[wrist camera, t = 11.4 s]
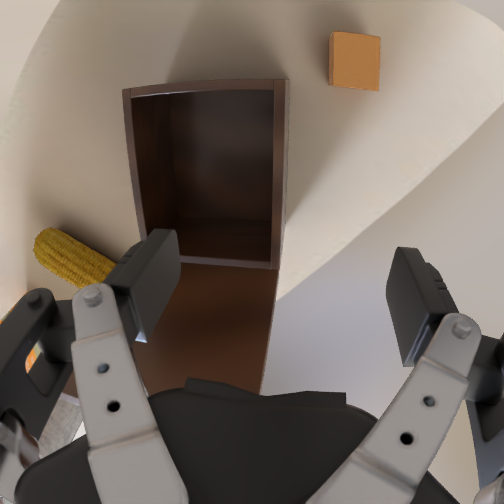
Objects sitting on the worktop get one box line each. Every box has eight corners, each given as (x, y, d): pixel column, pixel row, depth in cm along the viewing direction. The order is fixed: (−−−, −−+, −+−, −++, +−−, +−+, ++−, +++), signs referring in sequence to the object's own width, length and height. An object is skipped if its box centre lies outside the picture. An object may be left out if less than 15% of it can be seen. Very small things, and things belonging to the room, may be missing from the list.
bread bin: (164, 83, 29) (121, 89, 21) (289, 79, 27) (285, 79, 20) (175, 219, 37) (144, 259, 29) (285, 225, 35) (279, 270, 28)
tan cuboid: (329, 36, 24) (333, 30, 21) (370, 41, 24) (380, 36, 20) (328, 85, 27) (332, 85, 24) (369, 89, 26) (378, 91, 23)
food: (50, 244, 42) (27, 265, 37) (54, 214, 39) (28, 234, 34) (166, 313, 45) (151, 342, 40) (179, 287, 42) (163, 317, 37)
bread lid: (32, 380, 14) (62, 430, 16) (251, 438, 12) (250, 481, 14) (141, 258, 29) (149, 303, 31) (279, 269, 27) (276, 317, 29)
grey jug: (91, 403, 67) (33, 529, 34) (36, 363, 63) (-35, 483, 29) (106, 390, 61) (39, 538, 28) (44, 344, 57) (-42, 484, 23)
